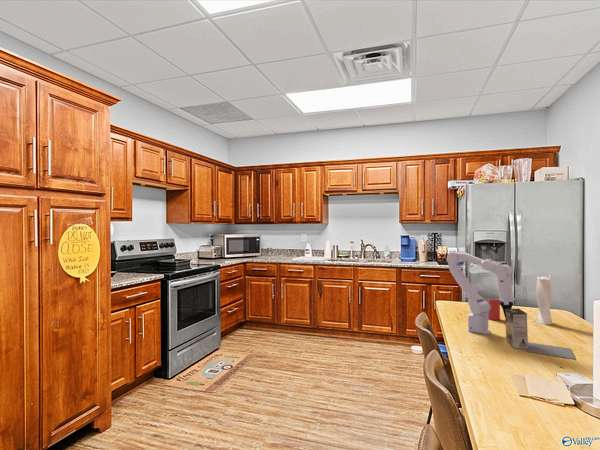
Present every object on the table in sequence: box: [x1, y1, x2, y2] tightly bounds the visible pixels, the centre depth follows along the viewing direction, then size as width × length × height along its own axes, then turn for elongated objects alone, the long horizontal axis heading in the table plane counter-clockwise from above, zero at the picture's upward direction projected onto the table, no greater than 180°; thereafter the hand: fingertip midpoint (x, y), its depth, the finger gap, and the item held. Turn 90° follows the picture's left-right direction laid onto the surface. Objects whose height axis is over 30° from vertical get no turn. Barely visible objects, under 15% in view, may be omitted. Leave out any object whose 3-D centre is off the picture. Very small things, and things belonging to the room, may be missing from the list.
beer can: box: [486, 297, 501, 321], centre depth 203 cm, size 7×7×12 cm
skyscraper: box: [533, 274, 555, 326], centre depth 194 cm, size 8×8×28 cm
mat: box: [526, 341, 577, 361], centre depth 152 cm, size 17×14×1 cm
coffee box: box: [504, 308, 529, 350], centre depth 159 cm, size 9×6×16 cm
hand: (507, 317), depth 169 cm, fingers closed
